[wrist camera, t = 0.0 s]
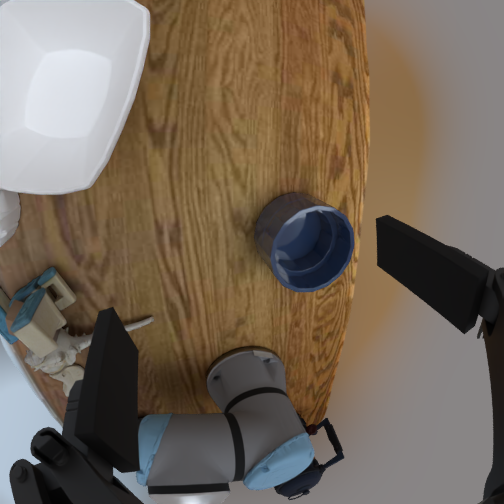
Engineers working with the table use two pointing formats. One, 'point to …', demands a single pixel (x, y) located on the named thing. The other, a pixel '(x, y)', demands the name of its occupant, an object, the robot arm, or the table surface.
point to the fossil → (69, 376)
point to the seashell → (68, 349)
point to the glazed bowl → (304, 241)
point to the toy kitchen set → (37, 312)
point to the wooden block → (13, 313)
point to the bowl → (66, 89)
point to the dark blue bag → (311, 464)
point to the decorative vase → (8, 214)
